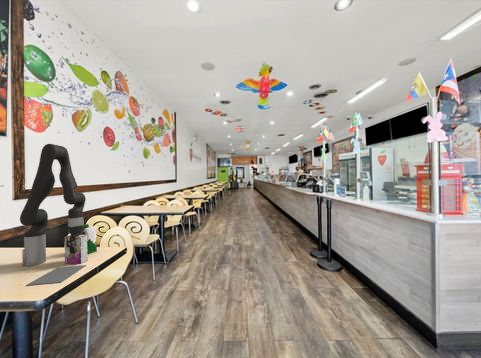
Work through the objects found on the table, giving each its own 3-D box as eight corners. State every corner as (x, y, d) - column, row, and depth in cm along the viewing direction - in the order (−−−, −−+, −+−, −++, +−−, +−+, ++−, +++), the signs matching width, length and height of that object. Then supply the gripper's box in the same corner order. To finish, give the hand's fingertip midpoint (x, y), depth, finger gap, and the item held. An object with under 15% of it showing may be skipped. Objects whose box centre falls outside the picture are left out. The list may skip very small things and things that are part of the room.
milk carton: (77, 254, 136) (76, 225, 136) (90, 249, 145) (90, 222, 145) (86, 255, 133) (85, 225, 133) (99, 250, 142) (99, 223, 142)
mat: (25, 285, 94) (25, 285, 94) (57, 268, 114) (57, 267, 114) (61, 282, 96) (61, 281, 96) (86, 265, 116) (86, 264, 116)
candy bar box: (64, 263, 120) (63, 236, 120) (71, 260, 125) (71, 234, 125) (80, 264, 119) (80, 237, 119) (88, 260, 124) (87, 234, 124)
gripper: (76, 223, 128) (77, 247, 128) (60, 227, 114) (61, 255, 114) (89, 222, 130) (90, 246, 129) (75, 226, 116) (76, 254, 115)
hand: (76, 251), depth 122 cm, fingers open, 8 cm apart
